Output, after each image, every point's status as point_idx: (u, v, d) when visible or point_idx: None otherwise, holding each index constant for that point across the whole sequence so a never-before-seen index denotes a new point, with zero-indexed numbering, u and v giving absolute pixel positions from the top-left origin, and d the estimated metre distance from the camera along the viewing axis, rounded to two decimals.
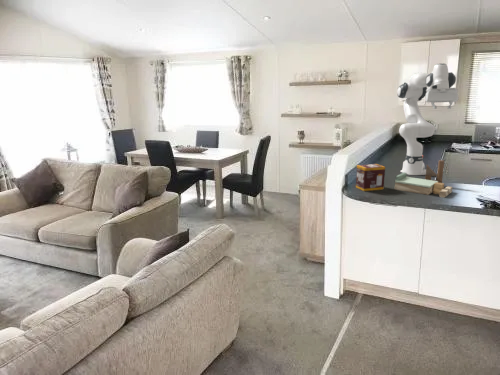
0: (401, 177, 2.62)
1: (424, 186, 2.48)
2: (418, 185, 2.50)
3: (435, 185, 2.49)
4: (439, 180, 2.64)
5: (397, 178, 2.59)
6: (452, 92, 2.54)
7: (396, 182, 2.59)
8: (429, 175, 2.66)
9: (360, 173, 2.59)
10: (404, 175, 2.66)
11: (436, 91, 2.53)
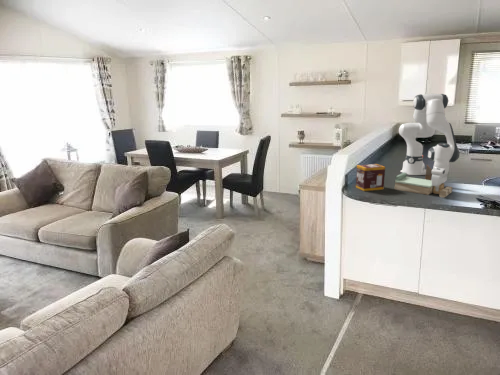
0: (401, 177, 2.62)
1: (424, 186, 2.48)
2: (418, 185, 2.50)
3: None
4: None
5: (397, 178, 2.59)
6: (446, 173, 2.51)
7: (396, 182, 2.59)
8: (429, 175, 2.66)
9: (360, 173, 2.59)
10: (404, 175, 2.66)
11: (442, 175, 2.43)
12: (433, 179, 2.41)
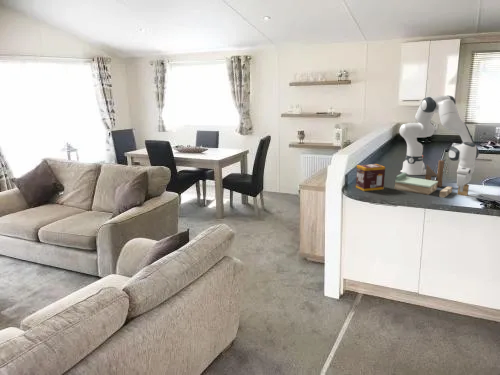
0: (401, 177, 2.62)
1: (424, 186, 2.48)
2: (418, 185, 2.50)
3: None
4: (439, 180, 2.64)
5: (397, 178, 2.59)
6: (470, 173, 2.47)
7: (396, 182, 2.59)
8: (429, 175, 2.66)
9: (360, 173, 2.59)
10: (404, 175, 2.66)
11: (467, 175, 2.39)
12: (458, 179, 2.37)
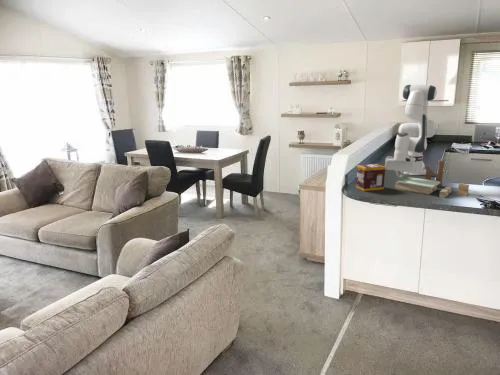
0: (403, 177, 2.61)
1: (427, 186, 2.47)
2: (421, 185, 2.49)
3: (460, 186, 2.45)
4: (439, 180, 2.64)
5: (399, 178, 2.58)
6: None
7: (398, 182, 2.58)
8: (429, 175, 2.66)
9: (360, 173, 2.59)
10: (406, 175, 2.65)
11: None
12: (414, 166, 2.56)
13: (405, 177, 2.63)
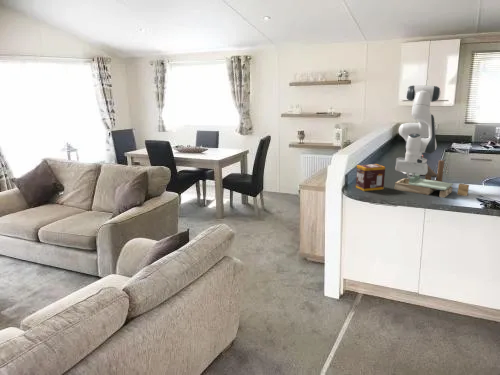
0: (415, 179, 2.56)
1: (439, 188, 2.42)
2: (433, 187, 2.44)
3: (460, 186, 2.45)
4: (439, 180, 2.64)
5: (411, 180, 2.53)
6: None
7: (410, 184, 2.53)
8: (429, 175, 2.66)
9: (360, 173, 2.59)
10: (417, 177, 2.60)
11: None
12: (426, 168, 2.51)
13: (416, 179, 2.59)
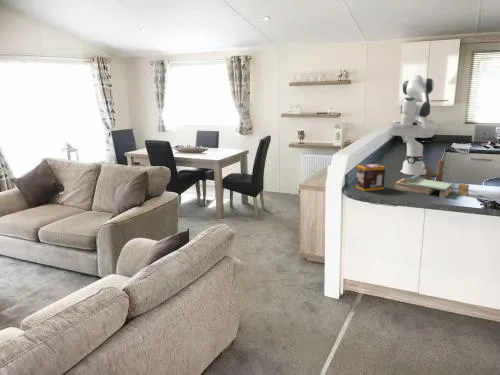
0: (415, 179, 2.56)
1: (439, 188, 2.42)
2: (433, 187, 2.44)
3: (460, 186, 2.45)
4: (439, 180, 2.64)
5: (411, 180, 2.53)
6: None
7: (410, 184, 2.53)
8: (429, 175, 2.66)
9: (360, 173, 2.59)
10: (418, 177, 2.60)
11: None
12: (421, 130, 2.56)
13: (416, 179, 2.59)
